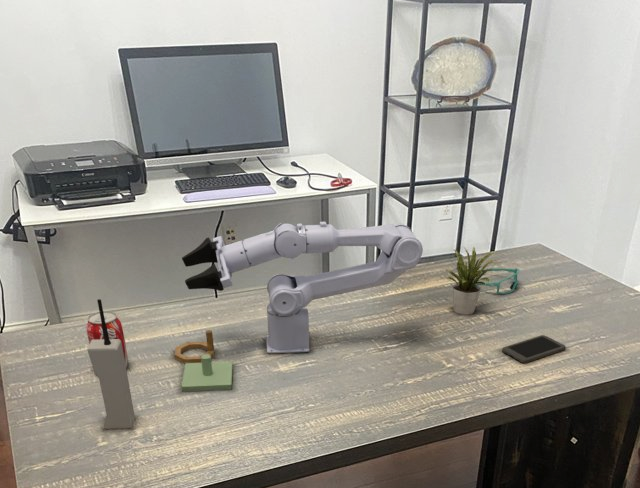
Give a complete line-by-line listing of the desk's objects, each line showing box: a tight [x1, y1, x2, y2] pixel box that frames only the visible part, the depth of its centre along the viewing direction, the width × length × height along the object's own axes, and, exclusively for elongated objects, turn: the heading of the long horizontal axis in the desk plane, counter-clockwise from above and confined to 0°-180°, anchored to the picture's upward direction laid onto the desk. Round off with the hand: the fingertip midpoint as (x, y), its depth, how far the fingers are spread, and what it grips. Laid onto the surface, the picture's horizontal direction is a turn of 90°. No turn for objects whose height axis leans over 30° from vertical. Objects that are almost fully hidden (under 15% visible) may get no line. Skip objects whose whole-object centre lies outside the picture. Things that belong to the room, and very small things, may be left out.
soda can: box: [85, 310, 129, 368], centre depth 142 cm, size 7×7×12 cm
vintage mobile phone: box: [86, 298, 136, 430], centre depth 120 cm, size 4×5×25 cm
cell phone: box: [501, 334, 566, 364], centre depth 156 cm, size 7×14×1 cm, turn 123°
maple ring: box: [174, 329, 215, 365], centre depth 150 cm, size 8×8×6 cm
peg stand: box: [180, 353, 234, 392], centre depth 141 cm, size 10×10×5 cm
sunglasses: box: [476, 267, 521, 295], centre depth 189 cm, size 14×15×5 cm
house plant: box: [444, 247, 500, 316], centre depth 170 cm, size 14×14×16 cm
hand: (185, 273), depth 143 cm, fingers open, 7 cm apart
